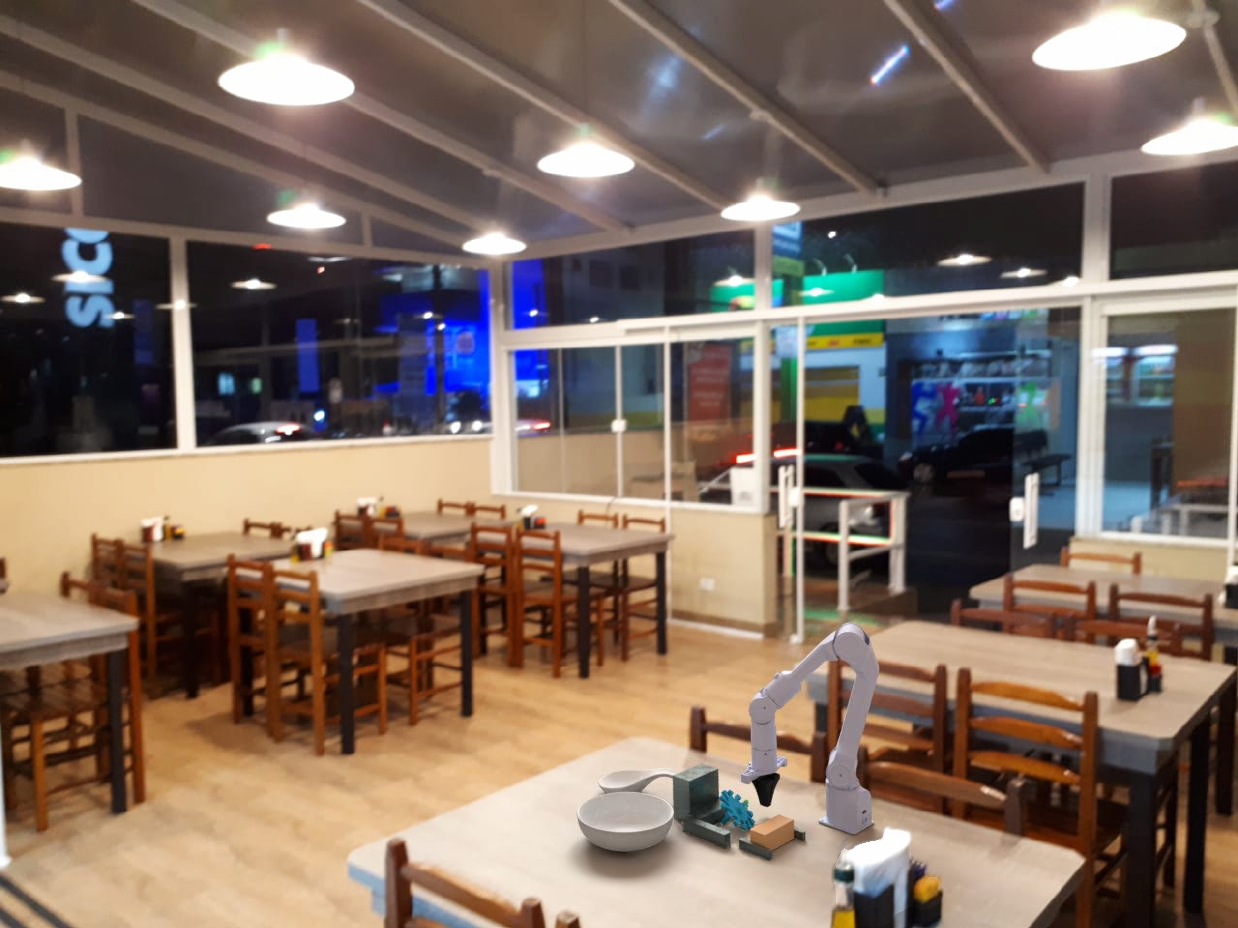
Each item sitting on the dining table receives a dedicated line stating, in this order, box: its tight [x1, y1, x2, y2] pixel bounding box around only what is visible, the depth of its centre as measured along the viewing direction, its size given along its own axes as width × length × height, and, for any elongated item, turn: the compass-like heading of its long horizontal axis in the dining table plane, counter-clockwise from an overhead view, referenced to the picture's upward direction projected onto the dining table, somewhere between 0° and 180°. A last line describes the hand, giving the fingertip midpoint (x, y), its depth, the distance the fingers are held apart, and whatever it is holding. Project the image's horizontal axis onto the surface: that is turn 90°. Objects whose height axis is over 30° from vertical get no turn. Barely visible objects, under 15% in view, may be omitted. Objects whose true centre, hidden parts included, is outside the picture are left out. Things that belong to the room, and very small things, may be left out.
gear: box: [719, 789, 756, 832], centre depth 212 cm, size 11×6×10 cm
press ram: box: [749, 814, 795, 851], centre depth 202 cm, size 4×10×4 cm, turn 134°
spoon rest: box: [597, 767, 681, 794], centre depth 229 cm, size 24×12×7 cm, turn 70°
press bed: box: [672, 762, 807, 862], centre depth 208 cm, size 28×15×10 cm, turn 44°
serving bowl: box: [576, 792, 674, 852], centre depth 206 cm, size 21×21×7 cm
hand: (765, 805), depth 217 cm, fingers closed
